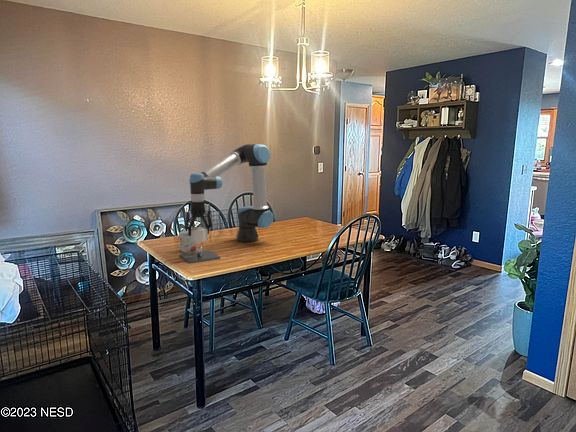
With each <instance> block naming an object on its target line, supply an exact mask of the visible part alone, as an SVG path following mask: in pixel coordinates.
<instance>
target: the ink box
mask: <svg viewBox="0 0 576 432" xmlns="http://www.w3.org/2000/svg"><path fill="white" fill-rule="evenodd" d="M178 237H179V251H180V252H182V253H189V252H191V251H192V252H193V251H195V250H196V251H197V246H196V243H195V242H191V241H190V236H189V235H188V230H185V231H181V232H179V233H178Z"/></svg>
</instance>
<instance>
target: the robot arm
mask: <svg viewBox="0 0 576 432" xmlns="http://www.w3.org/2000/svg"><path fill="white" fill-rule="evenodd" d="M270 159H271V151H270V149H269V147H267V146H266V145H265V144H260V143H255V144H252V143H251V144H250V143H249V144H248V143H247V144H243V145H241V146H239V147H236V149H234V150H232V151H231V152H229V155H228V156H226V157H224V158H223V159H221V160H219V161H218V162H216V163H214V164H213V165H212V166H209V167H208V168H207V169H205V170H203V171H201V172H200V173H197V172H196V173H191V174H190V176H189V180H188V182H189V189H190V211H185V223H184V229H185V231H188V235H189V236H190V241H191V242H193V230H191V229H192V228H193V226H194V224H195V221H196V219H198V218H201V220H202V222H203V224H204V228H206V241H208V240H209V237H208V235H209V234H210V228H212V227H213V223H212V219H211V210H210V209H206V208H205V207H206V206H205V191H207V190H208V191H209V190H217V189H221V188H222V186H223V179H222V178H221V175H223V174H225V173H226V172H227V171H230V170H231V169H232V168H234V167H236V166H240V165H242V164H245V163H248V167H249V168H250V169H251V181H252V183H251V184H252V198H253V199H252V200H253V205H249V206H241V207H239V208H238V212H237V215H238V218H237V219H238V231H237V234H236V237H235V238H236V241H237V242H239V243H241V242H242V243H253V242H257V241H259V234H258V231H257V228H259V229H268V228H270V227H271V225H272V224H273V221H274V213H273V212H272V211H271V210H270V206H269V205H268V203H267V185H266V184H267V183H266V167H267V166H268V162H269V161H270ZM205 214H206V217H205ZM191 215H192V216H191ZM190 216H191V220H190ZM206 219H207V220H206Z"/></svg>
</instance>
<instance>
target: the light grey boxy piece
mask: <svg viewBox="0 0 576 432" xmlns="http://www.w3.org/2000/svg"><path fill="white" fill-rule="evenodd" d="M191 230H193V242H195V244H196V243H200V244H201V243H204V242H206V241H207V240H206V227H192V229H191Z"/></svg>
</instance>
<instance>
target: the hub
mask: <svg viewBox="0 0 576 432" xmlns="http://www.w3.org/2000/svg"><path fill="white" fill-rule="evenodd" d="M179 257H180V258H181V259H183V261H185V262H187V263H188V264H196V263H202V262H207V261H214V260H221V256H220V255H219V254H217V253H215V252H213V251H212V250H210V249H204V250H203V246H201V245H199V246H196V251H192V252H191V251H189V252H182V253H179Z"/></svg>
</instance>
